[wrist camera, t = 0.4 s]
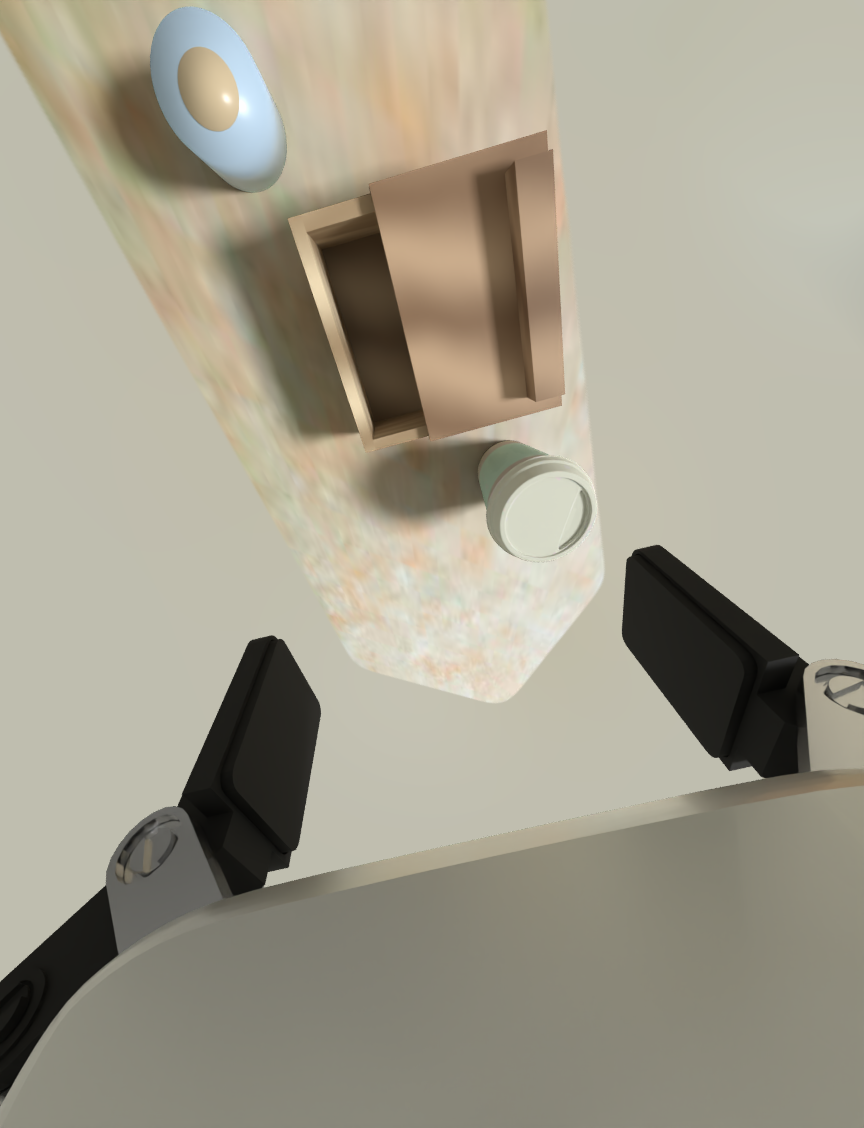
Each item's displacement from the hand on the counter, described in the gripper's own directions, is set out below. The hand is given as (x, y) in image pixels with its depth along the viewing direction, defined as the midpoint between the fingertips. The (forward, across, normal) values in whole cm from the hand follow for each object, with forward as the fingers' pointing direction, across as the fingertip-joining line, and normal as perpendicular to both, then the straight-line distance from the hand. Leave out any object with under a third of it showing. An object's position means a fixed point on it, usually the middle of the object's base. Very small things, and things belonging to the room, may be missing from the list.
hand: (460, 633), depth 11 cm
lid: (+22, -6, -7) cm, 24 cm away
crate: (+29, -1, -7) cm, 30 cm away
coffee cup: (+30, -8, +7) cm, 32 cm away
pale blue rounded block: (+29, +6, -20) cm, 36 cm away
